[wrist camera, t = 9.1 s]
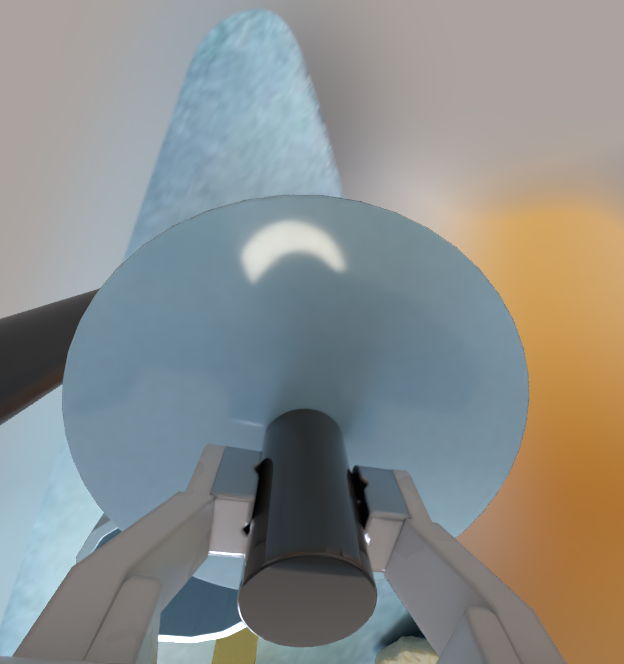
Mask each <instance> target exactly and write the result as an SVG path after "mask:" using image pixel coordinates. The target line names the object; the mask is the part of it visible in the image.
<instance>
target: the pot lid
mask: <svg viewBox="0 0 624 664" xmlns="http://www.w3.org/2000/svg"><path fill="white" fill-rule="evenodd" d="M528 384H529V380H528V370H527V364H526V359H525V353H524V348H523V345H522V342H521V339H520V336H519V334H518V331H517V328H516V326H515V322H514V320H513V318H512V317H511V315H510V313H509V311H508V309H507V307H506V305H505V304H504V302H503V300H502V298H501V296H500V295H499V293H498V292H497V291H496V289H495V288H494V287H493V285H492V284H491V283H490V282H489V280H488V279H487V278H486V276H485V275H484V274H483V273H482V271H481V270H480V269H479V268H478V267H477V266H476V265H475V264H474V263H473V262H471V261H470V260H469V259H468V258H467V257H466V256H465V255H464V254H463V253H462V252H461V251H460V250H459V249H458V248H457V247H455V246H454V245H452V244H451V243H449V242H448V241H446V240H445V239H444V238H442V237H440V236H439V235H438V234H436V233H434V232H433V231H432V230H430V229H429V228H427V227H425V226H423V225H421V224H419V223H417V222H415V221H413V220H410V219H408V218H406V217H404V216H402V215H400V214H398V213H396V212H393V211H390V210H386V209H383V208H380V207H377V206H373V205H370V204H367V203H364V202H361V201H354V200H348V199H342V198H336V197H329V196H323V195H279V196H272V197H264V198H256V199H248V200H243V201H240V202H236V203H233V204H229V205H225V206H222V207H218V208H215V209H211V210H208V211H206V212H203V213H201V214H199V215H197V216H194V217H192V218H190V219H188V220H185V221H183V222H181V223H179V224H176V225H174V226H172V227H171V228H169V229H168V230H166V231H165V232H163V233H162V234H160V235H158V236H157V237H155V238H154V239H152V240H151V241H149V242H147V243H146V244H144V245H143V246H142V247H141V248H139V249H138V250H137V251H136V252H135V253H134V254H133V255H132V256H130V257H129V258H128V259H127V260H126V261H125V262H124V263H122V264H121V265H120V266H119V267H118V268H117V269H116V270H115V271H114V273H113V274H112V275H111V276H110V278H109V279H108V280H107V281H106V282H105V284H104V285H103V286H102V287H101V288H100V290H99V291H98V292H97V293H96V295H95V296H94V298H93V300H92V301H91V303H90V305H89V307H88V308H87V310H86V312H85V313H84V315H83V317H82V319H81V320H80V322H79V325H78V327H77V330H76V333H75V335H74V338H73V340H72V343H71V346H70V348H69V351H68V356H67V361H66V366H65V371H64V376H63V392H62V411H63V418H64V426H65V434H66V438H67V441H68V444H69V448H70V451H71V455H72V458H73V461H74V463H75V465H76V467H77V469H78V472H79V474H80V476H81V478H82V480H83V482H84V484H85V486H86V487H87V489H88V490H89V492H90V494H91V495H92V497H93V498H94V500H95V501H96V503H97V504H98V506H99V507H100V508H101V509H102V510H103V512H104V513H105V514H106V515H107V516H108V517H109V519H110V520H111V521H112V522H113V523H114V524H115V525H116V526H117V527H118V528H119V529H120V530H121V531H124V530H125V529H126V528H128V527H129V526H131V525H132V524H133V523H135V522H136V521H138V520H139V519H141V518H142V517H143V516H145V515H146V514H148V513H149V512H150V511H152V510H153V509H155V508H156V507H158V506H159V505H160V504H162V503H163V502H165V501H166V500H167V499H169V498H170V497H172V496H173V495H174V494H176V493H177V492H179V491H180V492H185V491H186V489H187V487H188V484H189V482H190V480H191V477H192V475H193V473H194V470H195V468H196V466H197V463H198V461H199V459H200V456H201V454H202V452H203V449H204V447H205V446H206V445H207V443H209V444H215V445H221V446H229V447H235V448H242V449H248V450H254V451H260V452H263V453H262V460H261V466H260V471H259V479H258V485H257V491H256V497H255V503H254V508H253V514H252V519H251V522H250V523H249V527H248V533H247V539H246V546H245V552H244V558H240V557H225V556H211V555H208V558H207V559H206V560H205V561H204V563H203V564H202V565H201V566H200V567H199V568H198V570H197V571H196V572H195V573H194V574H193V575H192V576H193V577H196V578H198V579H201V580H204V581H207V582H210V583H213V584H216V585H219V586H224V587H228V588H232V589H237V590H238V594H237V608H238V612H239V615H240V618H241V620H242V621H243V623H244V624H245V625H246V627H247V628H248V629H249V630H250V631H251V632H253V633H254V634H256V635H257V636H259V637H261V638H262V639H264V640H267V641H269V642H272V643H275V644H278V645H283V646H290V647H315V646H321V645H326V644H330V643H333V642H336V641H339V640H341V639H344V638H346V637H348V636H350V635H351V634H353V633H354V632H356V631H357V630H359V629H360V628H361V627H362V626H363V625H364V624H365V623H366V622H367V621H368V620H369V618H370V617H371V616H372V614H373V612H374V609H375V606H376V602H377V588H376V583H375V582H376V581H379V580H382V579H386V578H385V576H384V573H380V572H373V570H372V565H371V561H370V556H369V551H368V547H367V542H366V538H365V533H364V529H363V524H362V519H361V515H360V510H359V506H358V501H357V497H356V492H355V488H354V483H353V478H352V474H351V472H352V469H353V467H354V466H355V465H361V466H368V467H376V468H383V469H395V470H404V471H407V472H408V473H409V474H410V476H411V478H412V480H413V482H414V484H415V486H416V488H417V491H418V493H419V495H420V497H421V499H422V501H423V503H424V506H425V508H426V510H427V512H428V514H429V516H430V518H431V521H432V522H436V523H438V524H440V525H441V526H442V527H443V528H444V529H445V530H446V531H447V532H448V533H449V534H451V535H452V536H453V537H454V538H456V537H458V536H459V535H460V534H461V533H462V532H464V531H465V530H466V529H467V528H468V527H469V526H470V525H471V524H472V523H473V522H474V521H475V520H476V518H478V517H479V516H480V514H481V513H482V512H483V511H484V510H485V509H486V507H487V506H488V505H489V503H490V502H491V501H492V499H493V498H494V497H495V496H496V494H497V493H498V491H499V489H500V488H501V486H502V484H503V483H504V481H505V479H506V478H507V475H508V474H509V472H510V470H511V468H512V465H513V463H514V461H515V459H516V456H517V454H518V452H519V449H520V445H521V441H522V438H523V434H524V431H525V427H526V421H527V413H528V405H529V385H528Z"/></svg>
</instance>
